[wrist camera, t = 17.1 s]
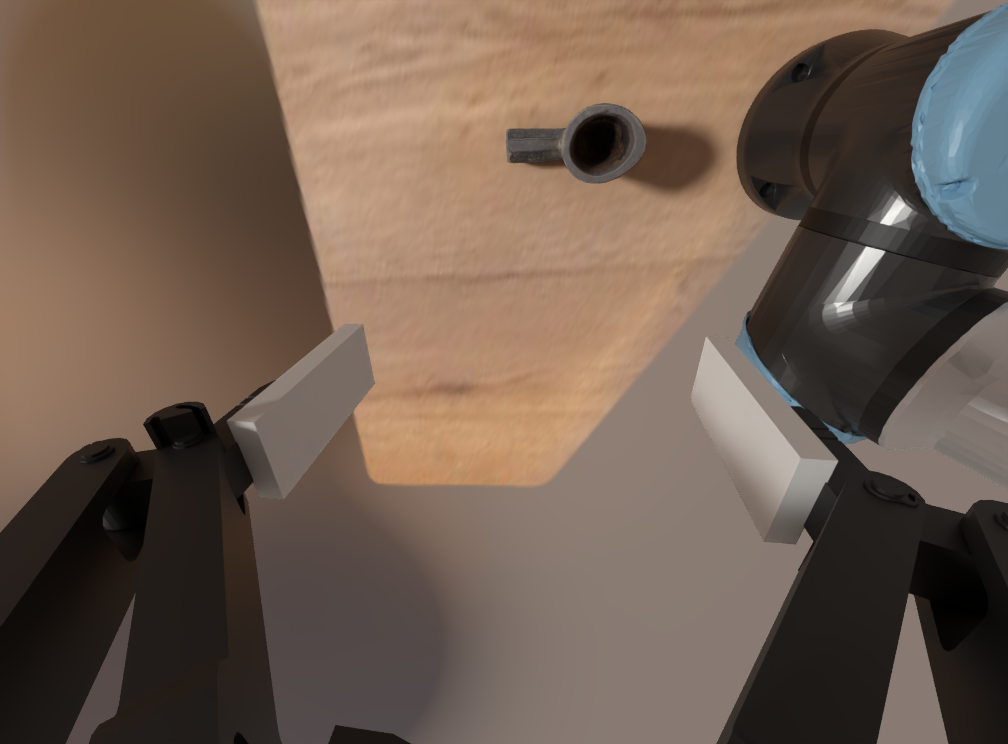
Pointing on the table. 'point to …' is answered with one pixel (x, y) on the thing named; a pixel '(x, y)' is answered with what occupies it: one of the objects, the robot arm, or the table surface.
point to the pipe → (585, 143)
